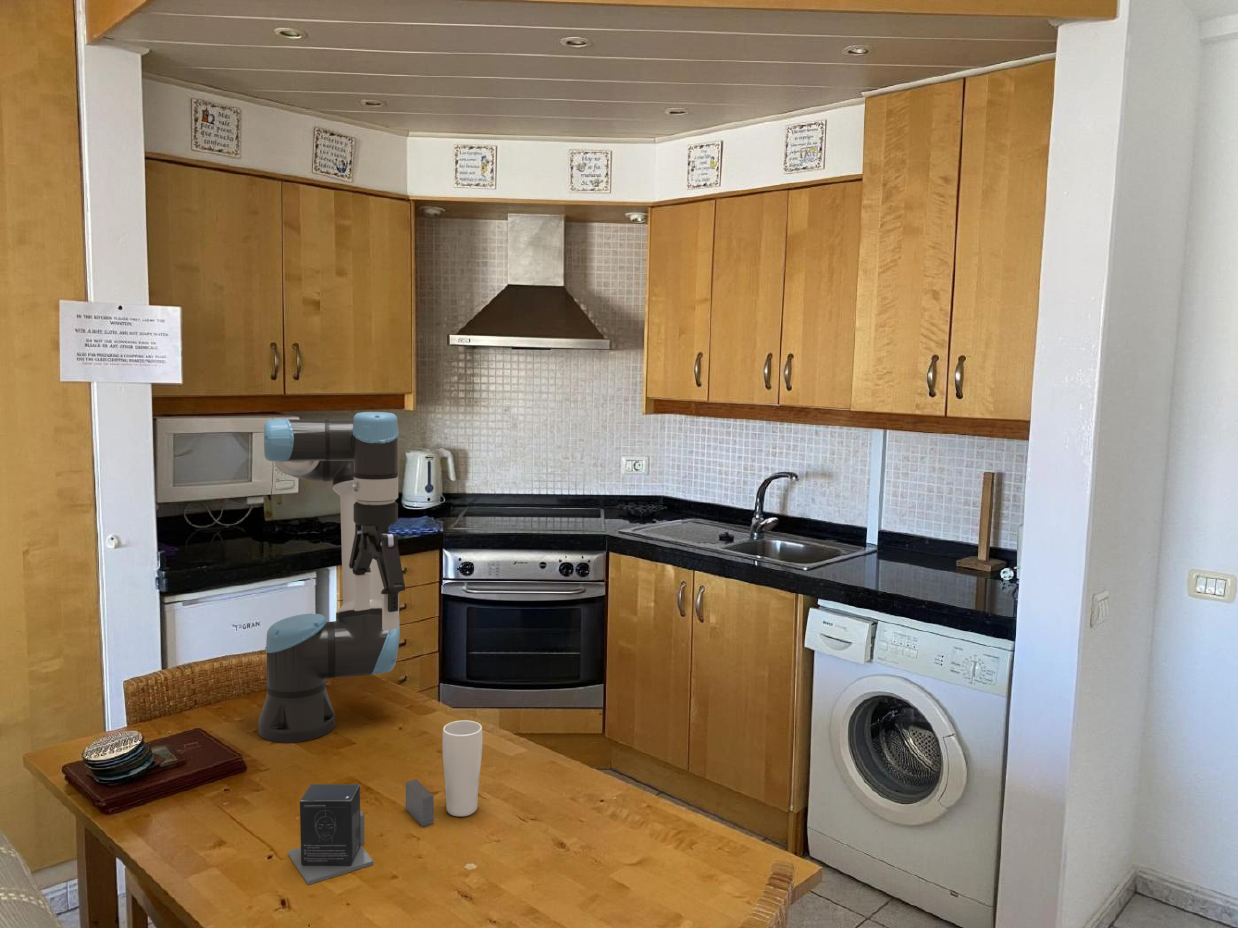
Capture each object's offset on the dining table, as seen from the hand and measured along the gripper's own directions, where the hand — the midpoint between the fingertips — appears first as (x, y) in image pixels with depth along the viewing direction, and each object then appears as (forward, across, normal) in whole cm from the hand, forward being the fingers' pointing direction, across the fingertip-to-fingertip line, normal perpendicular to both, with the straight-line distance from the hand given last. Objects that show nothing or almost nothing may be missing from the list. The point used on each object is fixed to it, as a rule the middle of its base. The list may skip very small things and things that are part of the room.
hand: (375, 619), depth 163 cm
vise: (+31, +14, -6) cm, 35 cm away
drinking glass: (+32, +16, +9) cm, 37 cm away
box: (+31, +19, -15) cm, 39 cm away
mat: (+31, +19, -15) cm, 40 cm away
